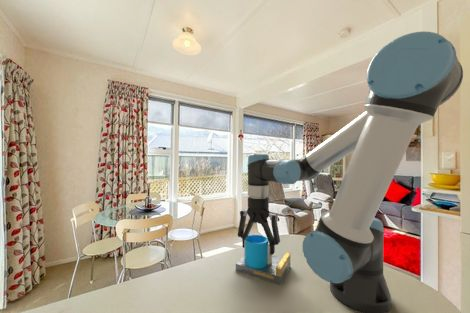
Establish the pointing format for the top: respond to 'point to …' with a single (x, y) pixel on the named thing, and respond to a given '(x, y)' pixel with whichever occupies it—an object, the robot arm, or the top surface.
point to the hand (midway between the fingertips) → (258, 259)
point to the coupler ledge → (267, 269)
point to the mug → (256, 251)
